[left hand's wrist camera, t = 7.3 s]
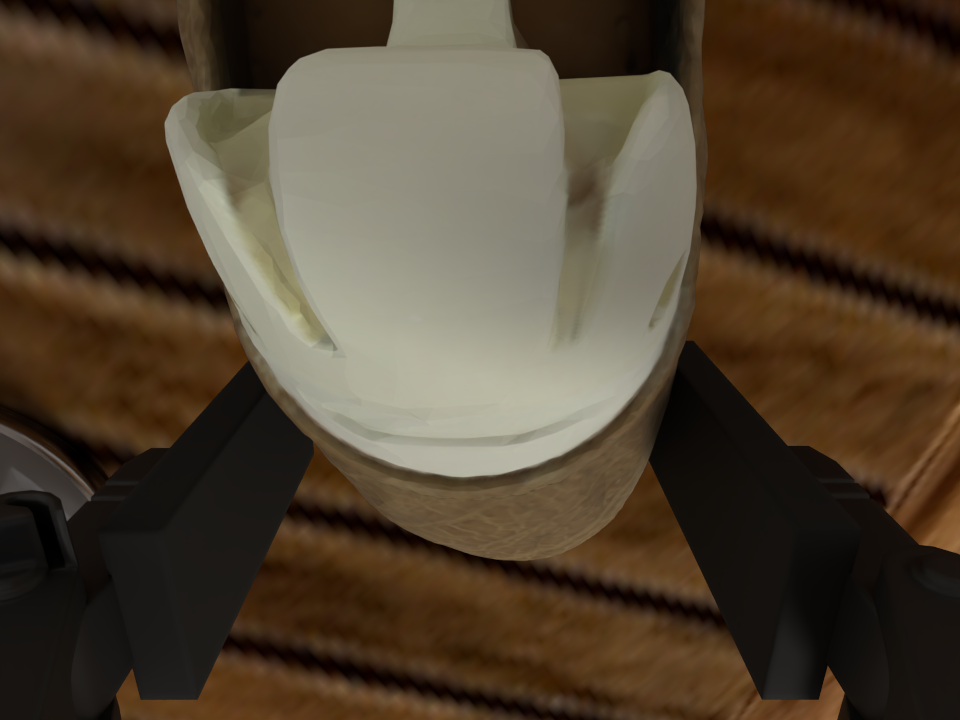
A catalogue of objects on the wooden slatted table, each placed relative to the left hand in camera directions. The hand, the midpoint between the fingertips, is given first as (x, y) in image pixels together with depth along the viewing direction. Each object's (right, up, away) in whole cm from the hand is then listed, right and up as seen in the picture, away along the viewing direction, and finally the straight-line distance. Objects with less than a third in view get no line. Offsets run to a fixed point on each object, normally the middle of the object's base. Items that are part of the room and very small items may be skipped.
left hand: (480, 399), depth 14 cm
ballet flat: (0, +8, -3) cm, 9 cm away
